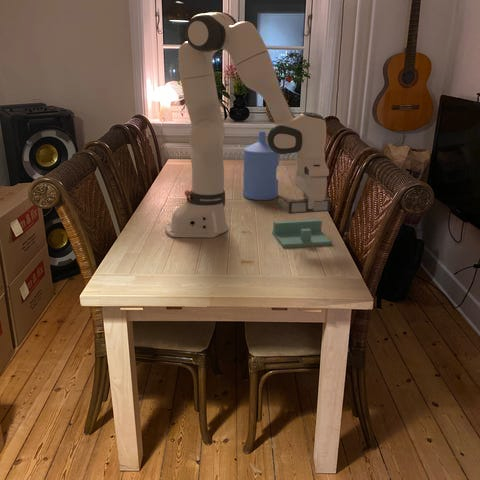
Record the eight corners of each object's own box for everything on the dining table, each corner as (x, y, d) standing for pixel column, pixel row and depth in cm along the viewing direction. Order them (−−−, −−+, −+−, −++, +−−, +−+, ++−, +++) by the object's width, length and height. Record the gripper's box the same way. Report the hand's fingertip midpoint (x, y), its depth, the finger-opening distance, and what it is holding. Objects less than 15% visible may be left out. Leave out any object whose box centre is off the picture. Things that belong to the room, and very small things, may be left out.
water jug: (258, 203, 215) (260, 136, 204) (235, 194, 226) (236, 131, 216) (285, 197, 224) (288, 133, 214) (261, 189, 235) (263, 128, 225)
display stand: (283, 247, 167) (283, 233, 165) (272, 233, 180) (272, 220, 178) (331, 244, 171) (332, 230, 169) (317, 231, 183) (318, 218, 181)
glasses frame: (288, 213, 165) (289, 202, 163) (278, 202, 177) (278, 191, 175) (329, 211, 167) (330, 199, 166) (316, 200, 179) (316, 189, 178)
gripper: (291, 158, 170) (289, 198, 175) (311, 172, 152) (309, 216, 157) (309, 158, 172) (307, 197, 176) (331, 171, 153) (328, 215, 158)
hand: (308, 206), depth 166 cm, fingers closed on glasses frame, 2 cm apart
